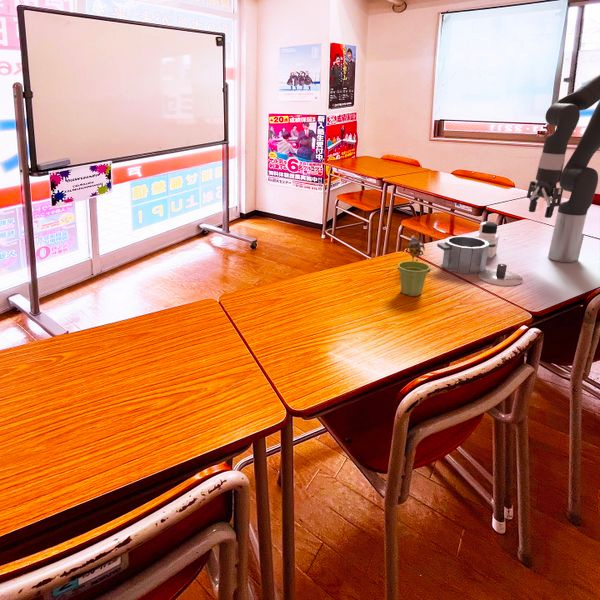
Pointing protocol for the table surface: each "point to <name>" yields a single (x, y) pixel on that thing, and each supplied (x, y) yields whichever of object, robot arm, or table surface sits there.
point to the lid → (500, 276)
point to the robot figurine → (415, 247)
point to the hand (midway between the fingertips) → (539, 214)
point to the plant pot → (412, 277)
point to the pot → (465, 254)
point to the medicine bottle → (489, 236)
